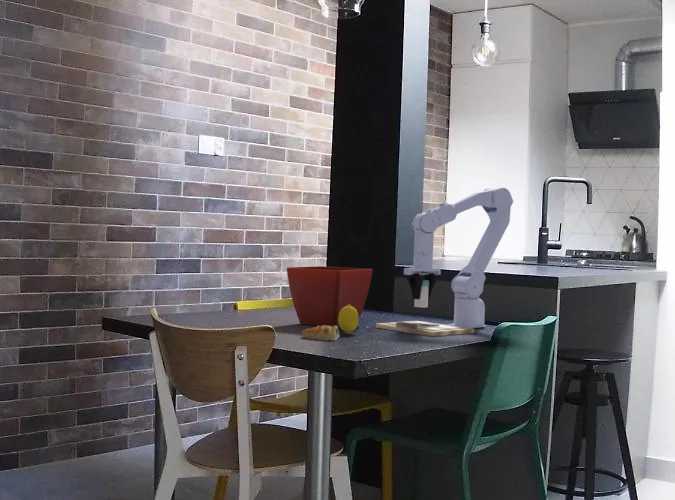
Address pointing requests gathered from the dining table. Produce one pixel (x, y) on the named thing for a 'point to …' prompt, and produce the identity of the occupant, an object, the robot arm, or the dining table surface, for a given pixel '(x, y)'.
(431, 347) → the dining table surface
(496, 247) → the robot arm
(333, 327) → the pastry
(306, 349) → the dining table surface
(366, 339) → the dining table surface
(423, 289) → the white jar teal lid
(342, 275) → the plant pot
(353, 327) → the lemon
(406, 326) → the clipboard
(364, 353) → the dining table surface
